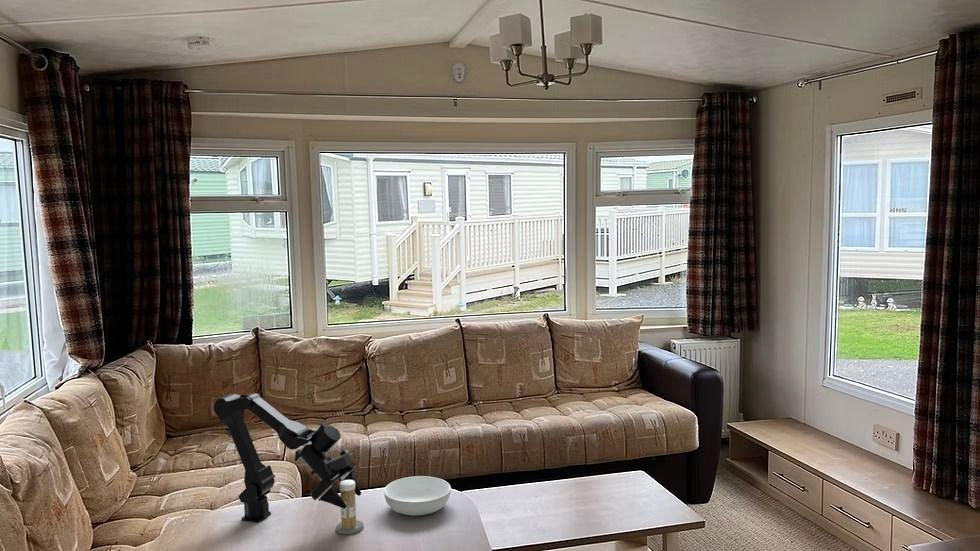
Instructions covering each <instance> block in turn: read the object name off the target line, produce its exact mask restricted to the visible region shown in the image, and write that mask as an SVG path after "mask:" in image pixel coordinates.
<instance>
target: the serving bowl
mask: <svg viewBox="0 0 980 551" xmlns="http://www.w3.org/2000/svg"><path fill="white" fill-rule="evenodd" d="M451 491H452V487H451V484H450V483H449V482H448V481H446V480H444V479H442V478H439V477H434V476H429V475H428V476H426V475H416V476H408V477H402V478H399V479H395V480H393V481H391V482H390V483H388V484H387V485H386V486H385V487H384V489H383V494H384V498H385V501H386V504H387V505H388V507H389V508H390V509H392V510H393V511H394V512H396V513H399V514H402V515H406V516H424V515H429V514H432V513H434V512H437V511H439V510H441V509H442V508H443V507H445V505H446V504H447V503H448V501H449V499H450V496H451Z"/></svg>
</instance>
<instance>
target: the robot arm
mask: <svg viewBox="0 0 980 551" xmlns="http://www.w3.org/2000/svg"><path fill="white" fill-rule="evenodd" d="M246 410H247V411H249V412H251V413H252V414H253V415H255V416H256V417H257V418H258V419H259V420H261V421H262V422H263V423H265V425H267V426H268V427H270V428H271V429H272V430H274V432H276V434H277V436H278V439H279V440H280V442H281V443H283V445H284V446H285V447H286V448H287V449H288V450H291V451H292V450H296V451H295V452H294V462H297V461H299V460H301V459H302V461H304V463H305V464H306V465H307V466H308V467H309V468H310V469H311V470H312V471H311V472H310V474H311V475H312V476H315V475H316V476H317V477H318V479H319V480H320V481H319V482H318V483H317V485H316V486H315V487H314V488H313V489H311V491H310V496H311V498H312V500H314V501H317V500H318V501H319V502H320V501H322V502H325V503H329V504H331V505H334V506H335V507H338V508H340V509H341V508H343V509H345V508H346V507H347V505H346V504H345V502H344V501H343V500H342V498H341V495H340V493H338V492H337V488H336V487H337V486H336V482H337V481H339V482H341V481H344V480H354V481H355V496H356V495H357V496H359V497H360V496H361V495H362V491H361V489H360V487H359V483H358V481H357V479H356V476H355V475H356V471H357V466H358V465H357V464H356V462H355V461H353V459H352V458H353V453H351V451H349V450H348V449H347V448H345V449H343V450H342V451H340V452H339V455H338V456H336V457H334V456H333V455H329V456H328V455H327V454H326V453H328V452H329V451H330V450H331V449H332V448H333V447H334V446H335V445H336V444H337V443H338V441H340V440H341V437H342V436H341V433H340V430H338V428H336V427H334V426H332V425H330V424H329V425H328V424H327V422H324V423H322V424H321V425H320V426H319V427H318V429H317V430H314V429H310V428H308V426H306V425H304V424H303V423H301V422H298V421H295V420H291V419H289V418H288V417H286V416H285V415H283V414H282V413H281V412H279V411H278V410H277V409H276V408H275V407H273V406H272V405H271V404H269V403H268V402H267V401H265V400H264V399H263V398H262V397H261V395H260V394H259V393H255V392H253V393H251V394H250V393H249V394H248V393H245V394H238V393H230V394H226V395H224V396H222V397H219V398H217V399H216V400H215V402H214V404H213V412H214V413H215V415H216V416H217V419H218V420H219V421H220V422H221V423H223V424H224V425H225V426H226V427H227V429H228V431H229V434H230V436H231V439H232V441H233V443H234V446H235V449H236V451H237V454H238V455H239V459H240V460H241V462H242V466H243V468H244V478H243V479H244V480H243V483H244V486H245V488H244V489H243V491H242V492H241V493H240V494H238V499H239V501H240V503H243V506H244V508H243V509H244V516H242V517H241V519H240V520H241V521H249V522H256V523H260V522H261V521H262V520H265V519H266V518H267V517H269V516H270V515H271V514H272V511H270V507H269V506H270V505H269V501H268V496H267V495H269V494H270V493H271V490H272V489H273V487H274V485H275V483H276V481H275V480H276V479H275V477H276V475H275V474H274V472H273V469H272V466H271V465H265V464H264V463H262V462H261V459H260V457H259V454H258V452H257V449H256V447H255V444H254V442H253V440H252V437H251V435H250V432H249V430H248V427H247V425H246V423H245V419H244V418H245V411H246ZM309 443H310V444H309ZM301 447H302V448H301ZM299 448H301V449H299Z"/></svg>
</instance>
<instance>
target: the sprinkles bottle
mask: <svg viewBox="0 0 980 551" xmlns="http://www.w3.org/2000/svg"><path fill="white" fill-rule="evenodd" d="M339 496H340V497H341V498H342V500H343V501H344V502H345V504H346V505H347V507H346V508H345V509H343V508H341V507H340V516H341V522H342V524H341V527H342V528H344V529H351V528H354V527H355V526H356V525H357V523H356V520H357V507H356V506H357V505H356V504H357V503H356V494H355V481H354V480H344V481H342V480H341V481H339Z"/></svg>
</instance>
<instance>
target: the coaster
mask: <svg viewBox="0 0 980 551" xmlns="http://www.w3.org/2000/svg"><path fill="white" fill-rule="evenodd" d="M356 523H357V525H356V526H355V527H354V528H351V529H344V528H342V527H341V524H342V521H341V522H339V523H337V524H336V526H335V531H336V533H337V534H338V535H343V536H350V535H355V534H356V535H357V534H358V533H360V532H362V531H364V530H363V529H364V527H365V526H364V522H363V521H361V520H357V519H356Z"/></svg>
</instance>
